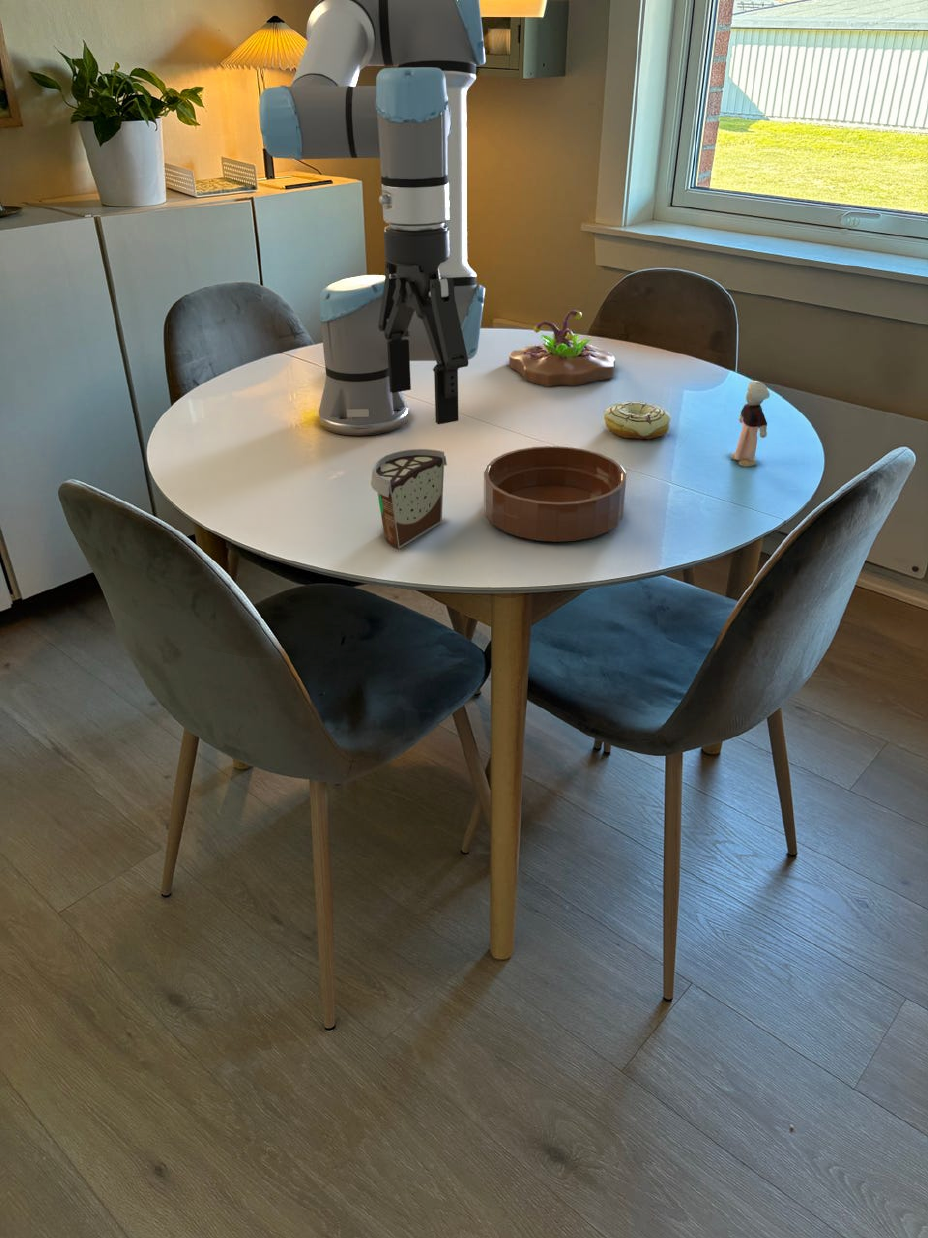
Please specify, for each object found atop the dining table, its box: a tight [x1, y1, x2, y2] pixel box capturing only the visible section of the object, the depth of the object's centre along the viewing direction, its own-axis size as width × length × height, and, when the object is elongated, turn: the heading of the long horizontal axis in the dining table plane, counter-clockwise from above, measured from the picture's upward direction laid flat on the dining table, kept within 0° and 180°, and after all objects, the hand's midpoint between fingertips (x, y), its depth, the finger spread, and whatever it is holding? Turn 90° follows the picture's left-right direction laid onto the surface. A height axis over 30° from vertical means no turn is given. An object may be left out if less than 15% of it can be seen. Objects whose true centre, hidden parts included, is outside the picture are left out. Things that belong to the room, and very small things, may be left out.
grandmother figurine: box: [730, 380, 771, 468], centre depth 140 cm, size 8×4×13 cm, turn 23°
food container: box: [370, 448, 448, 550], centre depth 123 cm, size 12×6×10 cm, turn 144°
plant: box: [508, 309, 616, 388], centre depth 180 cm, size 20×20×11 cm
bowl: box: [483, 445, 627, 543], centre depth 128 cm, size 19×19×6 cm
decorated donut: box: [603, 401, 671, 440], centre depth 154 cm, size 10×11×4 cm
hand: (422, 405), depth 117 cm, fingers open, 13 cm apart
